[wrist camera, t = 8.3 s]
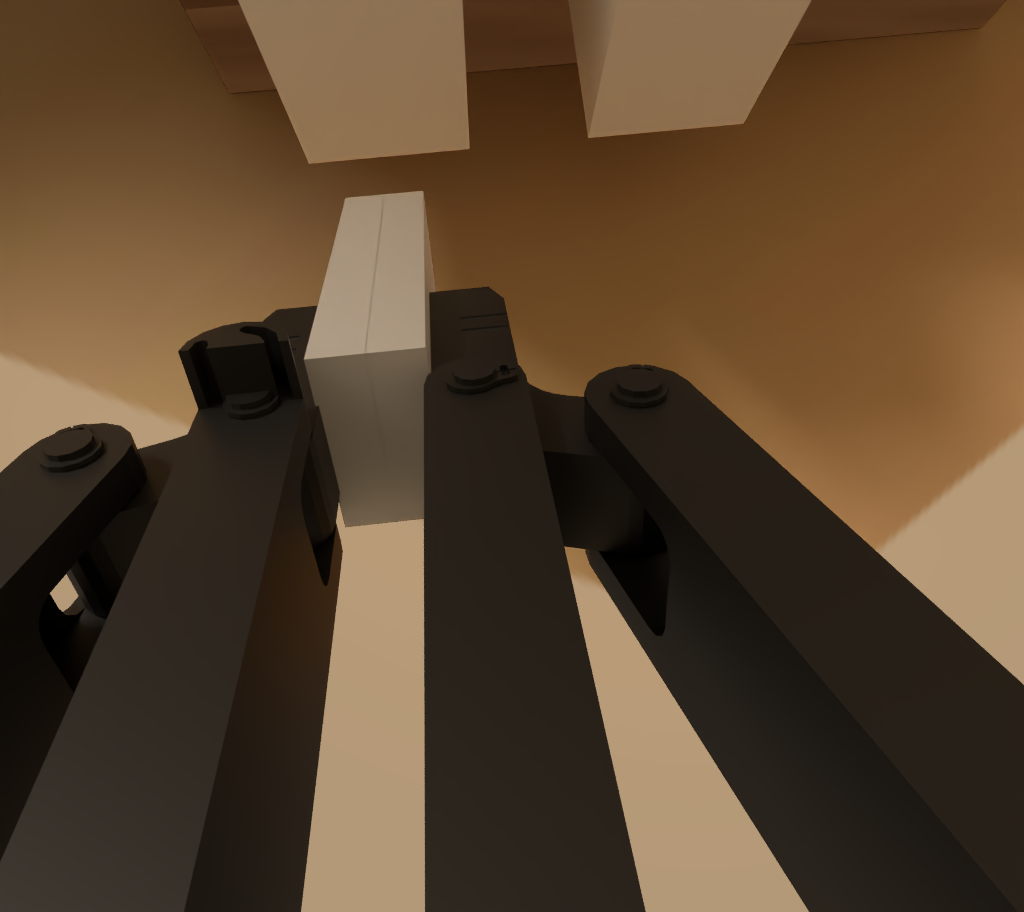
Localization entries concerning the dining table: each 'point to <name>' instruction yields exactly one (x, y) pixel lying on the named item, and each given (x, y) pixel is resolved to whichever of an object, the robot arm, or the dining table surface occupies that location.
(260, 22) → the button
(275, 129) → the dining table surface
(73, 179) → the dining table surface
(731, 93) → the middle button
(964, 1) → the console
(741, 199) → the dining table surface
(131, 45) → the dining table surface
